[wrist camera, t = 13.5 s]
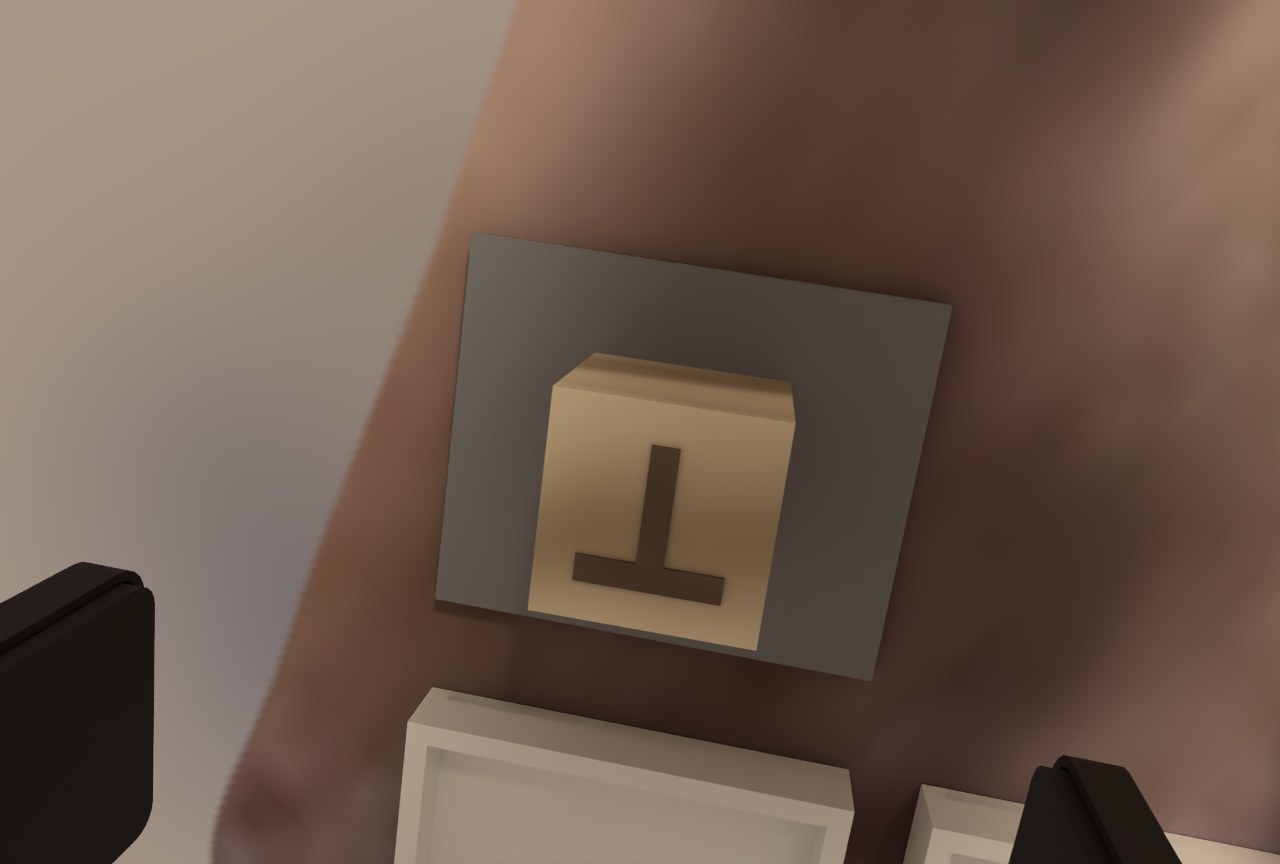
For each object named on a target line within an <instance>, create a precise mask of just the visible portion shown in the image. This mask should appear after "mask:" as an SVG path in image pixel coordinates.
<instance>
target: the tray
mask: <svg viewBox="0 0 1280 864" xmlns="http://www.w3.org/2000/svg"><path fill="white" fill-rule="evenodd" d="M854 812H855V811H854V804H853V797H852V790H851V782H850V775H849V769H844V768H839V767H834V766H829V765H824V764H819V763H814V762H808V761H803V760H798V759H793V758H788V757H783V756H778V755H773V754H768V753H763V752H758V751H753V750H748V749H743V748H738V747H733V746H728V745H723V744H718V743H713V742H707V741H702V740H697V739H692V738H687V737H682V736H677V735H672V734H667V733H662V732H657V731H652V730H647V729H642V728H637V727H632V726H627V725H622V724H617V723H612V722H607V721H601V720H596V719H591V718H586V717H581V716H576V715H571V714H566V713H561V712H556V711H551V710H546V709H541V708H536V707H531V706H526V705H521V704H516V703H511V702H506V701H500V700H495V699H490V698H485V697H480V696H475V695H470V694H465V693H460V692H455V691H450V690H445V689H440V688H435V687H432V688H431V690H430V691H429V692H428V694H427V695H426V697H425V698H424V699H423V701H422V702H421V704H420V705H419V706H418V708H417V709H416V711H415V712H414V713H413V715H412V716H411V718H410V719H409V720H408V723H407V733H406V744H405V754H404V765H403V775H402V786H401V796H400V807H399V817H398V828H397V838H396V848H395V859H394V864H843V862H844V858H845V853H846V849H847V844H848V840H849V835H850V830H851V826H852V821H853V817H854Z"/></svg>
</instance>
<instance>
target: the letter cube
mask: <svg viewBox="0 0 1280 864" xmlns="http://www.w3.org/2000/svg"><path fill="white" fill-rule="evenodd" d="M795 424H796V422H795V413H794V404H793V395H792V386H791V382H787V381H780V380H774V379H767V378H760V377H754V376H747V375H741V374H734V373H727V372H721V371H714V370H708V369H701V368H695V367H688V366H681V365H675V364H668V363H662V362H655V361H648V360H642V359H635V358H629V357H622V356H616V355H609V354H602V353H596V352H595V353H594V354H593V355H591V356H590V357H589V358H587V359H586V360H585V361H584V362H582V363H581V364H580V365H579V366H577V367H576V368H575V369H573V370H572V371H571V372H570V373H568V374H567V375H566V376H565V377H563V378H562V379H561V380H559V381H558V382H557V383H556V384H554V385H553V390H552V398H551V407H550V416H549V425H548V434H547V443H546V452H545V460H544V469H543V478H542V487H541V496H540V505H539V513H538V522H537V531H536V540H535V549H534V558H533V567H532V575H531V584H530V593H529V602H528V610H531V611H537V612H542V613H548V614H554V615H559V616H565V617H570V618H576V619H581V620H587V621H593V622H598V623H604V624H609V625H615V626H621V627H626V628H632V629H637V630H643V631H648V632H654V633H660V634H665V635H671V636H676V637H682V638H688V639H693V640H699V641H704V642H710V643H715V644H721V645H727V646H732V647H738V648H743V649H749V650H755V651H756V650H757V644H758V638H759V632H760V627H761V621H762V615H763V609H764V603H765V598H766V592H767V586H768V580H769V575H770V569H771V563H772V557H773V551H774V546H775V540H776V534H777V528H778V523H779V517H780V511H781V505H782V499H783V494H784V488H785V482H786V476H787V471H788V465H789V459H790V453H791V447H792V442H793V436H794V430H795Z"/></svg>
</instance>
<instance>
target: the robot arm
mask: <svg viewBox="0 0 1280 864" xmlns="http://www.w3.org/2000/svg"><path fill="white" fill-rule="evenodd" d="M154 627H155V602H154V596H153V594H152V592H151V591H150V590H149V589H148V588H145V587H144V585H143V582H142V580H141V578H140V576H139V575H138V574H137V573H135V572H133V571H128V570H123V569H118V568H113V567H107V566H103V565H98V564H93V563H87V562H80V563H77V564H74V565H72V566H70V567H68V568H67V569H64V570H63V571H61V572H59V573H57V574H55V575H53V576H51V577H49V578H47V579H45V580H44V581H42V582H40V583H38V584H36V585H34V586H32V587H30V588H29V589H27V590H25V591H23V592H21V593H19V594H17V595H15V596H13V597H12V598H10V599H8V600H6V601H4V602H2V603H0V864H112V863H113V862H114V861H115V860H116V859H117V858H118V857H119V856H120V855H121V854H122V853H123V852H124V851H125V850H126V849H127V848H128V847H129V846H130V845H131V844H132V843H133V842H134V841H135V840H136V839H137V838H138V837H139V835H140V834H141V833H142V831H143V829H144V828H145V826H146V823H147V821H148V819H149V816H150V813H151V809H152V803H153V737H154V734H153V732H154V638H155V628H154ZM1008 864H1182V862H1181V861H1180V859H1179V857H1178V856H1177V854H1176V852H1175V850H1174V849H1173V847H1172V845H1171V844H1170V842H1169V840H1168V838H1167V837H1166V835H1165V833H1164V832H1163V830H1162V828H1161V826H1160V825H1159V823H1158V821H1157V820H1156V818H1155V816H1154V814H1153V813H1152V811H1151V809H1150V808H1149V806H1148V804H1147V802H1146V801H1145V799H1144V797H1143V796H1142V794H1141V792H1140V790H1139V789H1138V787H1137V785H1136V784H1135V782H1134V780H1133V778H1132V777H1131V775H1130V773H1129V772H1128V771H1127V770H1126V769H1125V768H1124V767H1121V766H1116V765H1111V764H1106V763H1101V762H1096V761H1091V760H1086V759H1081V758H1076V757H1070V756H1065V755H1063V756H1061V757H1059V758H1058V760H1057V761H1056V763H1055V764H1054V766H1053V768H1050V767H1045V766H1039V767H1038V768H1037V769H1036V771H1035V772H1034V775H1033V777H1032V780H1031V784H1030V787H1029V791H1028V794H1027V798H1026V802H1025V805H1024V809H1023V812H1022V816H1021V820H1020V823H1019V827H1018V831H1017V834H1016V838H1015V841H1014V845H1013V849H1012V852H1011V856H1010V859H1009V863H1008Z"/></svg>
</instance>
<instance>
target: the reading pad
mask: <svg viewBox="0 0 1280 864" xmlns="http://www.w3.org/2000/svg"><path fill="white" fill-rule="evenodd" d="M952 308H953V306H952V305H950V304H946V303H939V302H933V301H926V300H920V299H913V298H907V297H900V296H893V295H887V294H880V293H874V292H867V291H860V290H854V289H847V288H841V287H834V286H827V285H821V284H814V283H808V282H801V281H795V280H788V279H781V278H775V277H768V276H762V275H755V274H748V273H742V272H735V271H729V270H722V269H716V268H709V267H702V266H696V265H689V264H683V263H676V262H669V261H663V260H656V259H650V258H643V257H637V256H630V255H623V254H617V253H610V252H604V251H597V250H590V249H584V248H577V247H571V246H564V245H558V244H551V243H544V242H538V241H531V240H525V239H518V238H511V237H505V236H498V235H492V234H485V233H472V234H471V244H470V254H469V264H468V274H467V284H466V294H465V304H464V314H463V324H462V334H461V344H460V354H459V364H458V374H457V384H456V394H455V404H454V414H453V424H452V434H451V444H450V454H449V464H448V474H447V485H446V495H445V505H444V515H443V525H442V535H441V545H440V555H439V565H438V575H437V585H436V595H435V599H438V600H443V601H449V602H454V603H459V604H464V605H470V606H475V607H480V608H486V609H491V610H496V611H501V612H507V613H512V614H517V615H523V616H528V617H533V618H538V619H544V620H549V621H554V622H560V623H565V624H570V625H575V626H581V627H586V628H591V629H597V630H602V631H607V632H612V633H618V634H623V635H628V636H634V637H639V638H644V639H649V640H655V641H660V642H665V643H671V644H676V645H681V646H686V647H692V648H697V649H702V650H708V651H713V652H718V653H723V654H729V655H734V656H739V657H744V658H750V659H755V660H760V661H766V662H771V663H776V664H781V665H787V666H792V667H797V668H803V669H808V670H813V671H818V672H824V673H829V674H834V675H840V676H845V677H850V678H855V679H861V680H866V681H871V682H872V679H873V674H874V670H875V665H876V660H877V656H878V651H879V647H880V642H881V637H882V633H883V628H884V623H885V619H886V614H887V609H888V605H889V600H890V596H891V591H892V586H893V582H894V577H895V572H896V568H897V563H898V558H899V554H900V549H901V545H902V540H903V535H904V531H905V526H906V521H907V517H908V512H909V507H910V503H911V498H912V493H913V489H914V484H915V480H916V475H917V470H918V466H919V461H920V456H921V452H922V447H923V442H924V438H925V433H926V429H927V424H928V419H929V415H930V410H931V405H932V401H933V396H934V391H935V387H936V382H937V378H938V373H939V368H940V364H941V359H942V354H943V350H944V345H945V340H946V336H947V331H948V327H949V322H950V317H951V313H952ZM595 352H596V353H602V354H609V355H616V356H622V357H629V358H635V359H642V360H648V361H655V362H662V363H668V364H675V365H681V366H688V367H695V368H701V369H708V370H714V371H721V372H727V373H734V374H741V375H747V376H754V377H760V378H767V379H774V380H780V381H787V382H791V386H792V395H793V404H794V413H795V422H796V424H795V430H794V436H793V442H792V447H791V453H790V459H789V465H788V471H787V476H786V482H785V488H784V494H783V499H782V505H781V511H780V517H779V523H778V528H777V534H776V540H775V546H774V551H773V557H772V563H771V569H770V575H769V580H768V586H767V592H766V598H765V603H764V609H763V615H762V621H761V627H760V632H759V638H758V644H757V650H756V651H755V650H749V649H743V648H738V647H732V646H727V645H721V644H715V643H710V642H704V641H699V640H693V639H688V638H682V637H676V636H671V635H665V634H660V633H654V632H648V631H643V630H637V629H632V628H626V627H621V626H615V625H609V624H604V623H598V622H593V621H587V620H581V619H576V618H570V617H565V616H559V615H554V614H548V613H542V612H537V611H531V610H528V602H529V593H530V584H531V575H532V567H533V558H534V549H535V540H536V531H537V522H538V513H539V505H540V496H541V487H542V478H543V469H544V460H545V452H546V443H547V434H548V425H549V416H550V407H551V398H552V390H553V385H554V384H556V383H557V382H558V381H559V380H561V379H562V378H563V377H565V376H566V375H567V374H568V373H570V372H571V371H572V370H573V369H575V368H576V367H577V366H579V365H580V364H581V363H582V362H584V361H585V360H586V359H587V358H589V357H590V356H591V355H593V354H594V353H595Z"/></svg>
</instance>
